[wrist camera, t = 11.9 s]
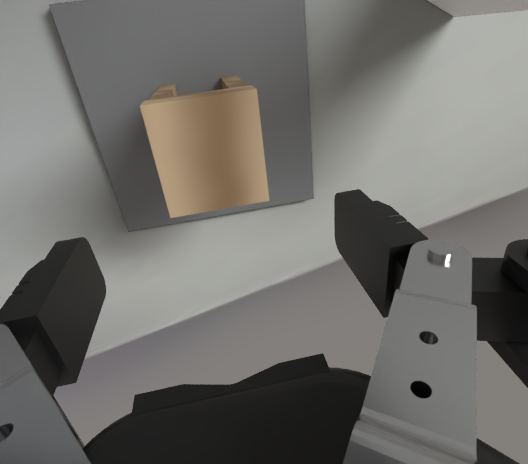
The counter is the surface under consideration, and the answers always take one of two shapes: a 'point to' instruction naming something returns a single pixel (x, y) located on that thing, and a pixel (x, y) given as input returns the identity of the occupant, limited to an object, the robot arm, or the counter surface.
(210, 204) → the tan notched block
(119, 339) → the counter surface
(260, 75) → the mat
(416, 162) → the counter surface
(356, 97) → the counter surface
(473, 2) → the milk
